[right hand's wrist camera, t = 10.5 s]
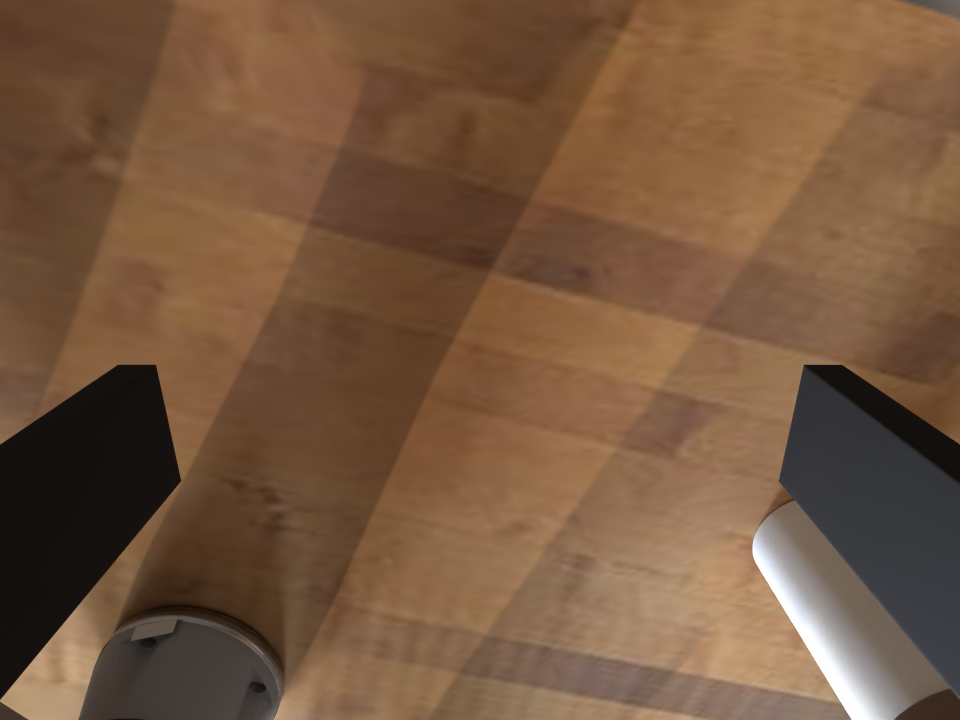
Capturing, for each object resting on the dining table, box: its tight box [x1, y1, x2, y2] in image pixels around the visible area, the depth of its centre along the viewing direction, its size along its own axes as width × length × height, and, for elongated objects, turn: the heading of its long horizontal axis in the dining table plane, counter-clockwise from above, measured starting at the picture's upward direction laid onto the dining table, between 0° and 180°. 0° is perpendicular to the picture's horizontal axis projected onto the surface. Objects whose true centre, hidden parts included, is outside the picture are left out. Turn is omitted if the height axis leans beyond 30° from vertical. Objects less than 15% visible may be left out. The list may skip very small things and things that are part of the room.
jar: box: [753, 500, 951, 720], centre depth 38 cm, size 8×8×18 cm
